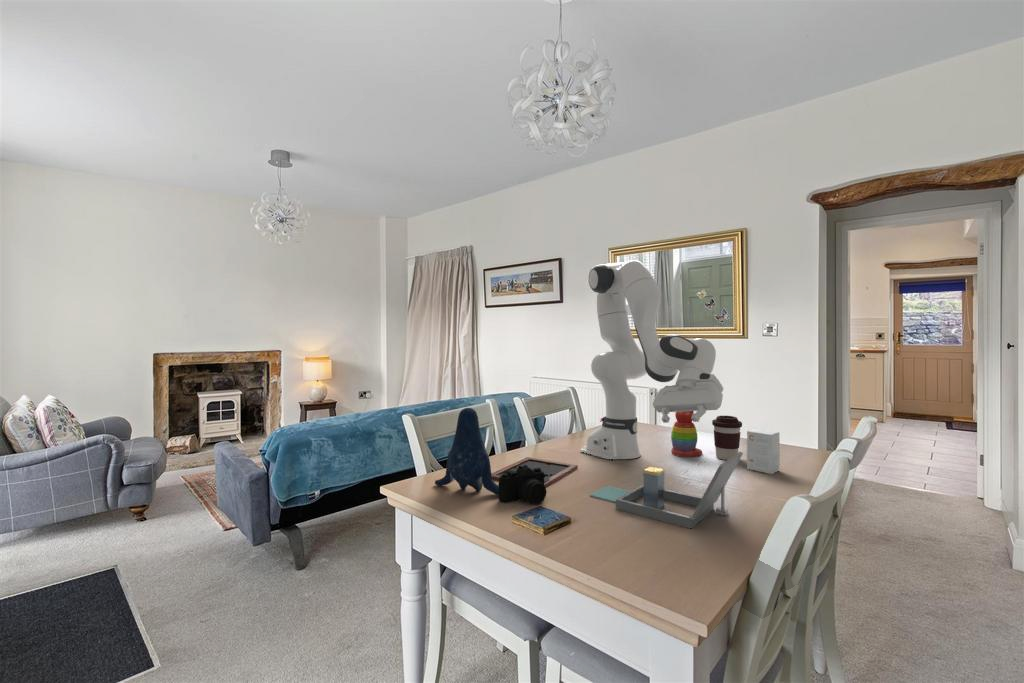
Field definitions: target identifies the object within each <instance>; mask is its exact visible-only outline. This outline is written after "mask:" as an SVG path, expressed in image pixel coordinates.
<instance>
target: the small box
mask: <svg viewBox="0 0 1024 683" xmlns="http://www.w3.org/2000/svg"><path fill="white" fill-rule="evenodd" d="M780 448H781V447H780V431H773V430H766V429H761V428H760V429H758V428H753V429H749V430H747V431H746V469H747V470H749V469H750V471H754V470H755V472H759V473H763V472H764V473H765V474H768V475H774V474H775V472H776V473H778V472H779V471H780V469H781V468H780V465H781V464H780V456H781V455H780V454H781V453H780ZM777 471H778V472H777Z"/></svg>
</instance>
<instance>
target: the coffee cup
mask: <svg viewBox="0 0 1024 683" xmlns="http://www.w3.org/2000/svg"><path fill="white" fill-rule="evenodd" d="M711 424H712V426H713V439H714V447H715V457H716V458H718V459H719V460H723V461H727V460H728V459H730V458H731V457H733V456H734V455H736V454H737V453H739V448H740V444H741V442H740V440H741V428H742V427H743V422H742V421H740V420H739V419H738V417H737V416H734V415H733V416H732V415H717V416H716V418H715V419H713V420H712V421H711Z"/></svg>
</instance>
